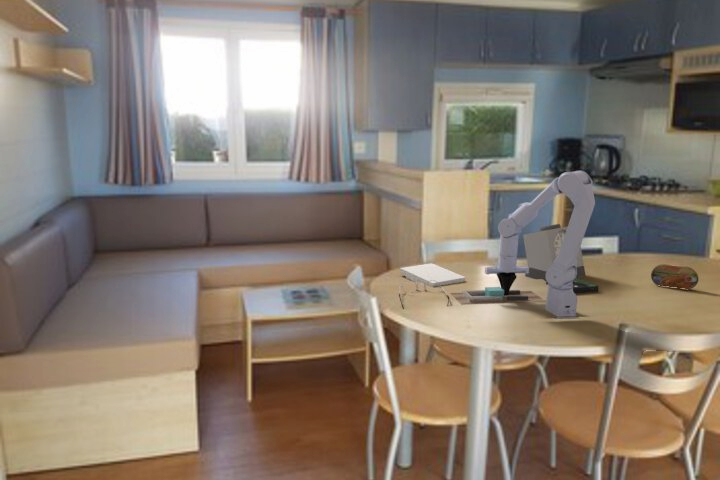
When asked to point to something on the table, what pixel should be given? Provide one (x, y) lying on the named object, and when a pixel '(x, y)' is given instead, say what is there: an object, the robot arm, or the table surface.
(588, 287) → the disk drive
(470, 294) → the grey slab
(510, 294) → the grey blocks
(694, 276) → the tin
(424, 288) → the eyeglasses
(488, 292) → the plug
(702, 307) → the table surface
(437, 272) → the white flat block
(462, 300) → the base board
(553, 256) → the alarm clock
